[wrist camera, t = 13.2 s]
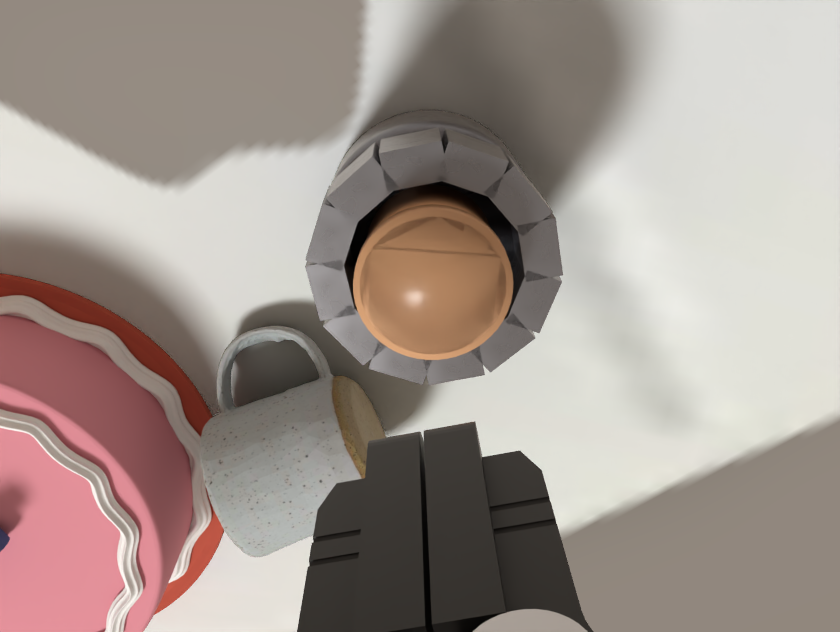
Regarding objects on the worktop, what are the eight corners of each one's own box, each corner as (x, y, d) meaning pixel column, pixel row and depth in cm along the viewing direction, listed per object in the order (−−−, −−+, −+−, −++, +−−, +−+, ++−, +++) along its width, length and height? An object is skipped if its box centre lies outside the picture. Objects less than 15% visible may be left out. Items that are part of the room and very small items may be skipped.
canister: (511, 90, 37) (542, 120, 29) (539, 283, 41) (573, 358, 32) (307, 132, 37) (280, 173, 29) (354, 318, 41) (341, 401, 33)
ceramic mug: (404, 449, 45) (403, 534, 37) (278, 499, 46) (254, 590, 39) (321, 292, 41) (302, 353, 34) (186, 350, 42) (141, 420, 35)
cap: (487, 166, 32) (500, 195, 28) (507, 297, 34) (523, 345, 30) (346, 193, 33) (336, 226, 28) (376, 321, 35) (372, 372, 30)
